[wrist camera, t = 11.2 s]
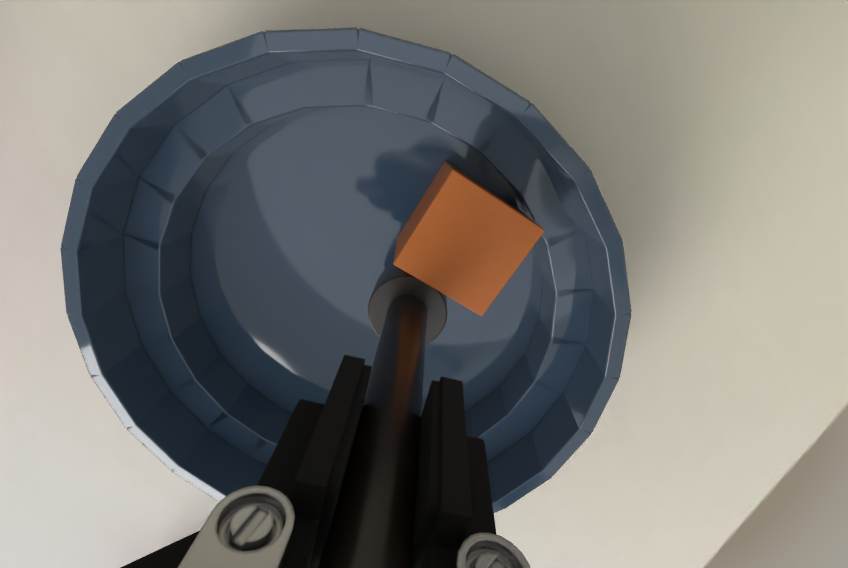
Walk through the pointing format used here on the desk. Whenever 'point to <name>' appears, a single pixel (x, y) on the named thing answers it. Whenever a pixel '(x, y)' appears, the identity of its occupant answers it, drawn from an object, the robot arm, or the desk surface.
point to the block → (465, 240)
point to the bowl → (329, 252)
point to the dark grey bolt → (387, 431)
